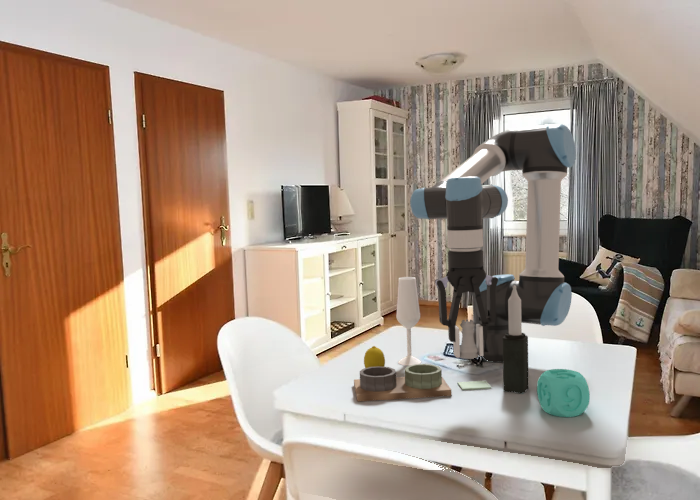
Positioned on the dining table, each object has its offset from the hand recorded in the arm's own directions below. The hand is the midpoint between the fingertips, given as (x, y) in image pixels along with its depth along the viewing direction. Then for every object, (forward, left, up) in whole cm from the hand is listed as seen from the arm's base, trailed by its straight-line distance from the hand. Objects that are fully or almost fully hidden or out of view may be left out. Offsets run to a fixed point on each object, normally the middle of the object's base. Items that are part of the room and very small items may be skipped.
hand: (468, 354), depth 130 cm
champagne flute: (+7, -38, -12) cm, 40 cm away
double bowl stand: (+13, -14, -12) cm, 22 cm away
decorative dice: (-19, +5, -12) cm, 23 cm away
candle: (-14, -10, -12) cm, 21 cm away
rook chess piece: (0, 0, -1) cm, 1 cm away
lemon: (+18, -27, -12) cm, 34 cm away
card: (-5, -14, -12) cm, 19 cm away
